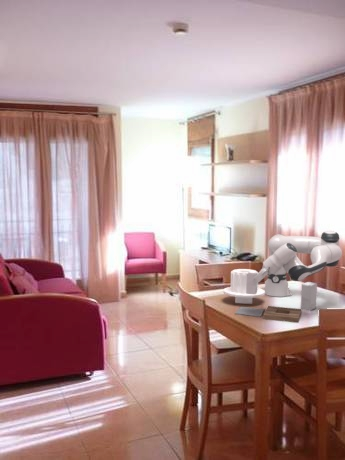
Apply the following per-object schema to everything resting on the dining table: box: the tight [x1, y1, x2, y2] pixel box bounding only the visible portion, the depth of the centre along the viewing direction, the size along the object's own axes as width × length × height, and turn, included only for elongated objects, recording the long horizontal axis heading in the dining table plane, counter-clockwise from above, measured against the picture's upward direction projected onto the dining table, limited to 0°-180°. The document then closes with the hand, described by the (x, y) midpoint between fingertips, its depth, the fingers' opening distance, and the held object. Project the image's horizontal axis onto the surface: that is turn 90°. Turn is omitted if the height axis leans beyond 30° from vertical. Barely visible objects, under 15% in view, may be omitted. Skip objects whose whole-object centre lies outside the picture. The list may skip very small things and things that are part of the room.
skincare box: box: [300, 281, 318, 312], centre depth 251 cm, size 8×6×15 cm
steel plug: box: [246, 273, 257, 294], centre depth 241 cm, size 5×5×11 cm
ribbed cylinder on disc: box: [223, 268, 266, 305], centre depth 266 cm, size 25×25×19 cm
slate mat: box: [234, 306, 266, 318], centre depth 244 cm, size 14×14×1 cm
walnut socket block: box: [262, 305, 302, 324], centre depth 236 cm, size 18×18×2 cm
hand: (252, 282), depth 241 cm, fingers closed on steel plug, 5 cm apart
